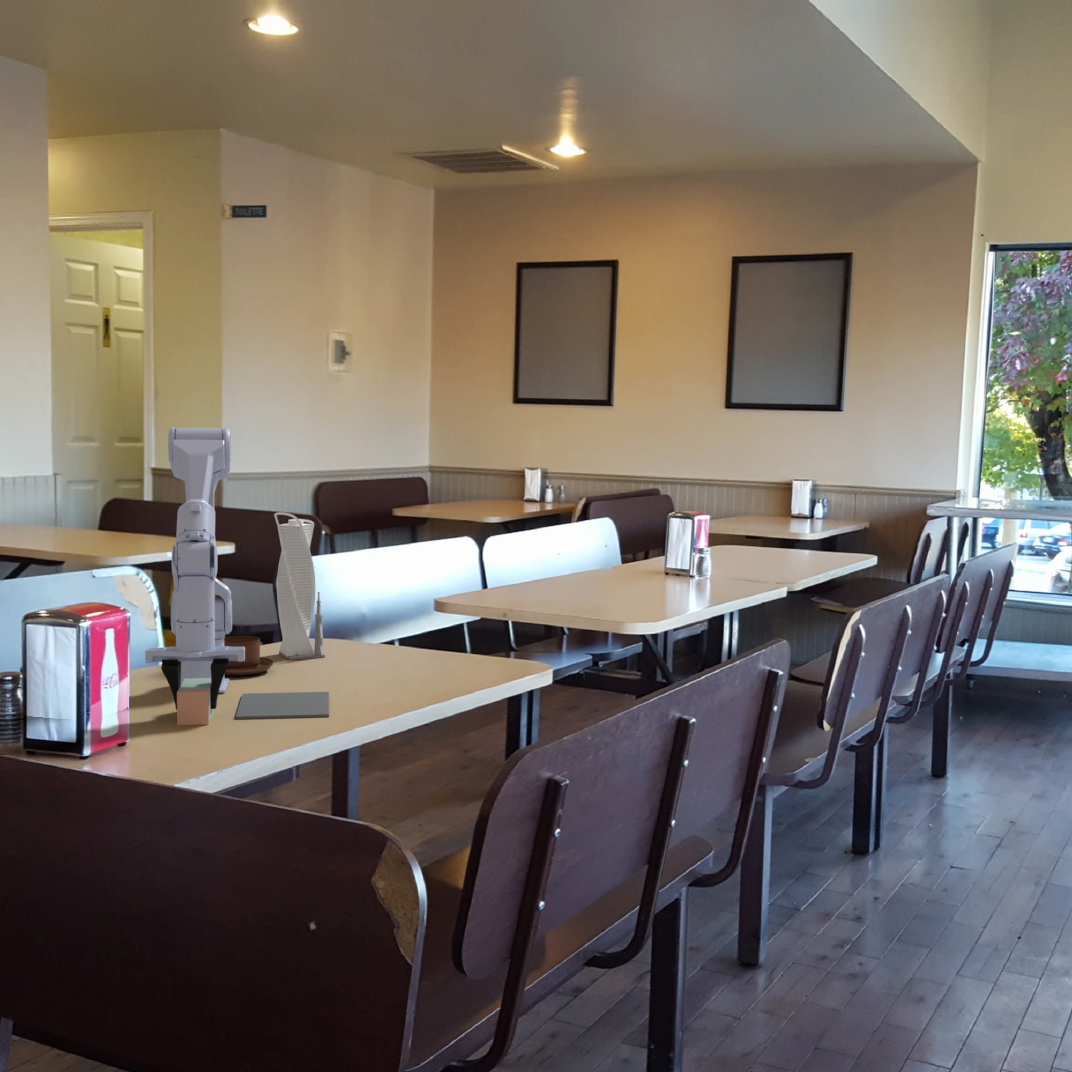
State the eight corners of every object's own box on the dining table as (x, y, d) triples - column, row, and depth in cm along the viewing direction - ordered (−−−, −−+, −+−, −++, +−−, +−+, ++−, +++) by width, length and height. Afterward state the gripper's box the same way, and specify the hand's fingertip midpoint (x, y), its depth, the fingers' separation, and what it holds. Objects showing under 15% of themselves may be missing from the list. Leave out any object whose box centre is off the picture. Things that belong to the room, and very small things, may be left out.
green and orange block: (184, 710, 192) (184, 678, 191) (214, 709, 192) (214, 677, 192) (177, 725, 182) (176, 692, 181) (208, 724, 182) (208, 691, 182)
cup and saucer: (192, 677, 217) (191, 642, 216) (226, 664, 228) (226, 632, 228) (253, 681, 214) (252, 647, 213) (284, 669, 225) (284, 635, 225)
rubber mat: (242, 695, 202) (242, 693, 202) (328, 694, 204) (328, 691, 204) (235, 719, 186) (235, 716, 186) (328, 716, 188) (328, 714, 188)
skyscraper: (282, 660, 232) (281, 513, 229) (269, 653, 239) (269, 510, 236) (324, 657, 236) (324, 512, 233) (311, 650, 243) (311, 509, 240)
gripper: (141, 624, 180) (143, 715, 182) (242, 623, 183) (243, 712, 184) (148, 617, 187) (149, 704, 189) (245, 616, 190) (246, 702, 191)
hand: (196, 708), depth 187 cm, fingers closed on green and orange block, 4 cm apart
